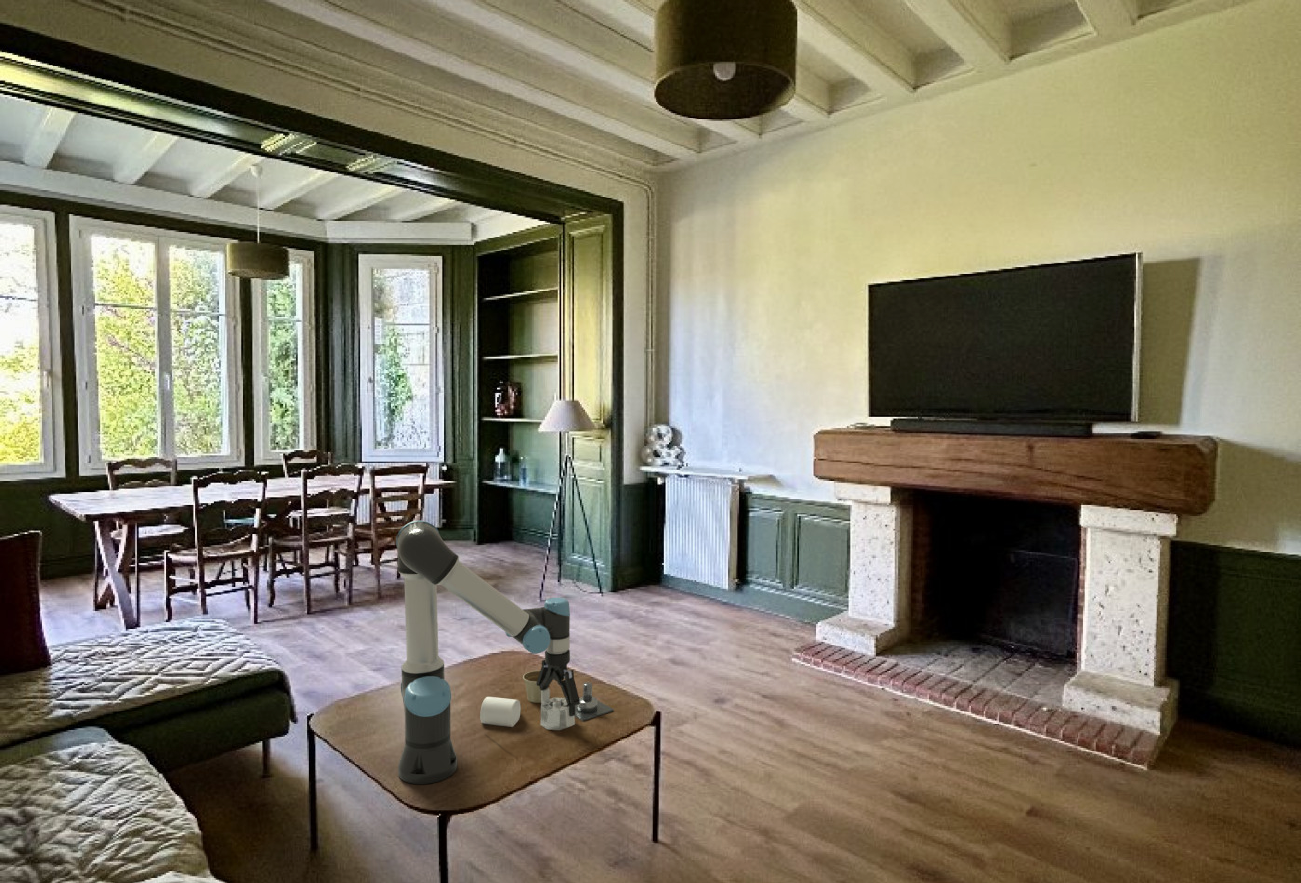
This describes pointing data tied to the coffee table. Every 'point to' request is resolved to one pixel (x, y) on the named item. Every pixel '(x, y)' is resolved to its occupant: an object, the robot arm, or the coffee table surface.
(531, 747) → the coffee table surface
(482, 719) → the mug
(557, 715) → the collar
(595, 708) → the hub
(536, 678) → the flower pot
